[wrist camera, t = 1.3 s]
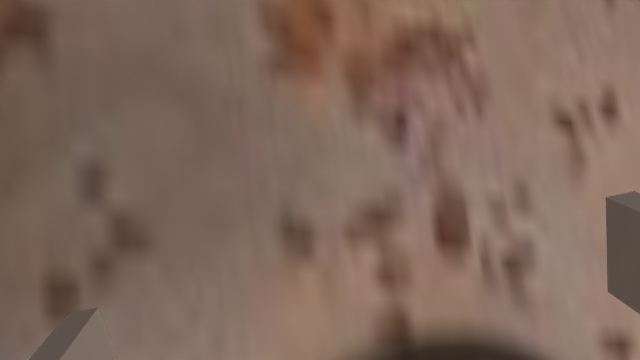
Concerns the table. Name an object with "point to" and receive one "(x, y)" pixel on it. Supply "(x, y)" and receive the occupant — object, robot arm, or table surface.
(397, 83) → the table surface
